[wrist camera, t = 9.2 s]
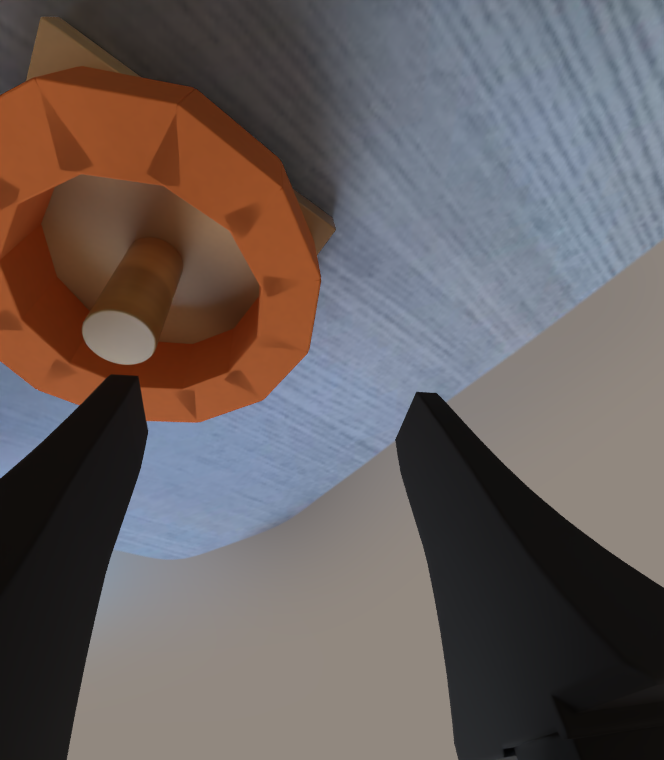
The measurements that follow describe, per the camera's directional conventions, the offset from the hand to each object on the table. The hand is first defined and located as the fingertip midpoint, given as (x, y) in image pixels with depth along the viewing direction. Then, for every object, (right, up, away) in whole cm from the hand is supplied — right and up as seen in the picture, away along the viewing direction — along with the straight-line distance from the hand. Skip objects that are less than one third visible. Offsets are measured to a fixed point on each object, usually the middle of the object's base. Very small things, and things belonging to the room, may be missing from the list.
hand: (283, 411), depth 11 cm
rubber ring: (-5, +5, +5) cm, 9 cm away
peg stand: (-6, +6, +6) cm, 10 cm away
